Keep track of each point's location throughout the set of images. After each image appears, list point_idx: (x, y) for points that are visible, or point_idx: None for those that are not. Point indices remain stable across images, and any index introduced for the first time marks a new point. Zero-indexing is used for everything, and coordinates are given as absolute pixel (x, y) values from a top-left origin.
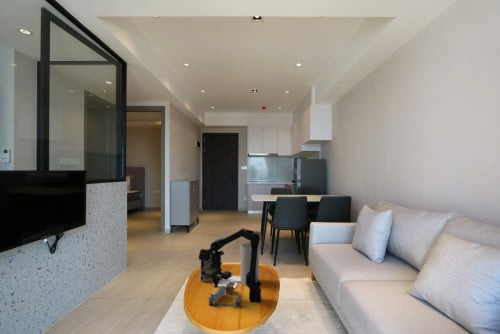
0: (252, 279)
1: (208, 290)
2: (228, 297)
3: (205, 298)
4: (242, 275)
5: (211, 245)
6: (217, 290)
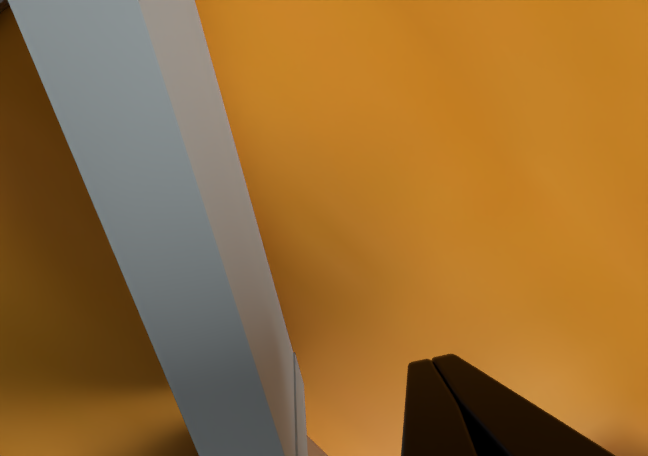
0: None
1: (637, 311)
2: (133, 358)
3: (484, 21)
4: None
5: None
6: (198, 242)
